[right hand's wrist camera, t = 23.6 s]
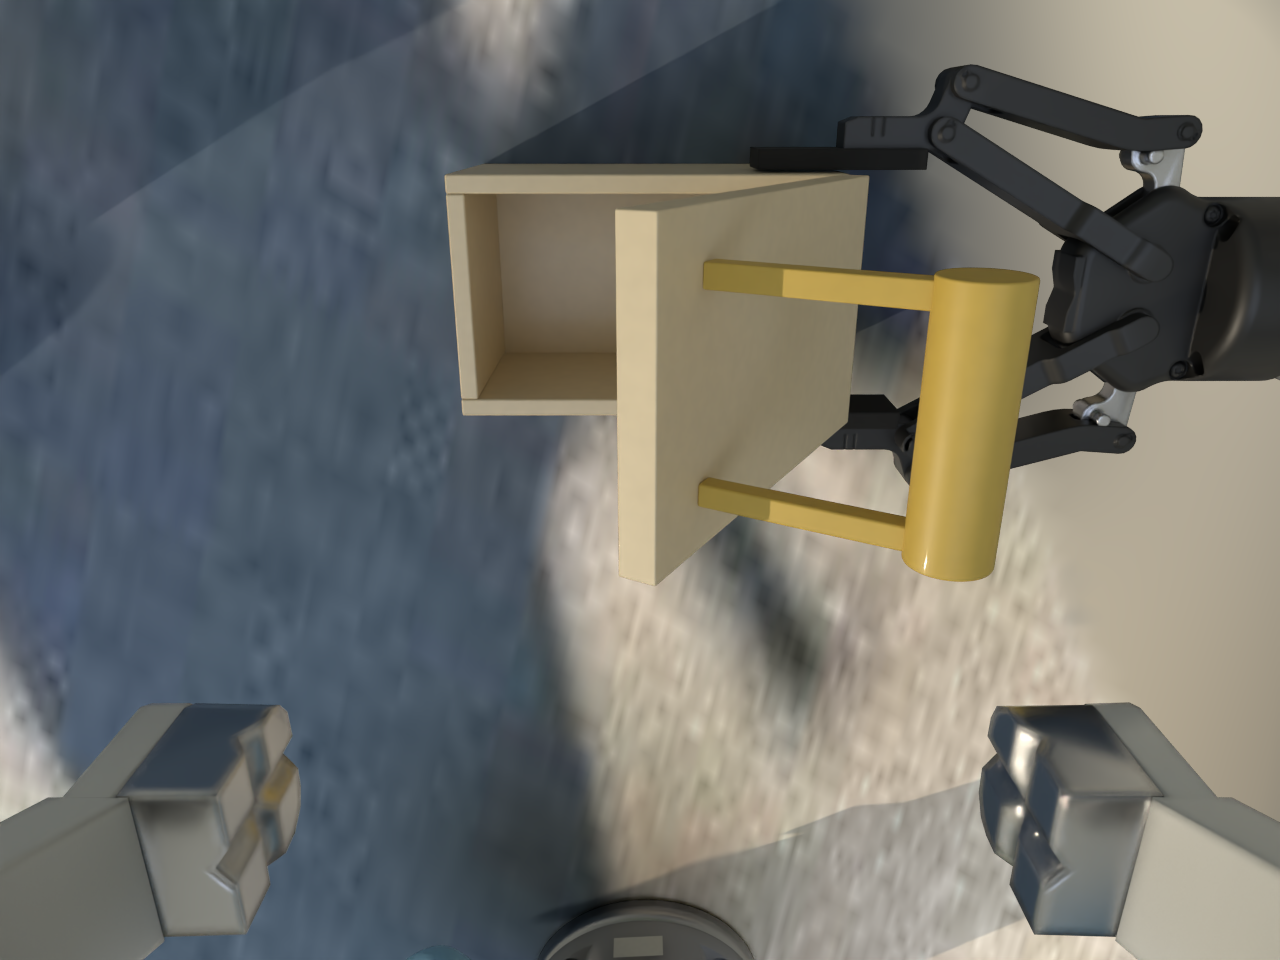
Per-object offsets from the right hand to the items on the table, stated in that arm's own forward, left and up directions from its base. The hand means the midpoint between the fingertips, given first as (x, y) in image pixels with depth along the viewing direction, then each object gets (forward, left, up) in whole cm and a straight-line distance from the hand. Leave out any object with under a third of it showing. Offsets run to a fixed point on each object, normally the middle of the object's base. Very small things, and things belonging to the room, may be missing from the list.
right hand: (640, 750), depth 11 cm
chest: (0, 0, -36) cm, 36 cm away
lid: (+1, +3, -20) cm, 20 cm away
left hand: (+2, +4, -30) cm, 30 cm away
